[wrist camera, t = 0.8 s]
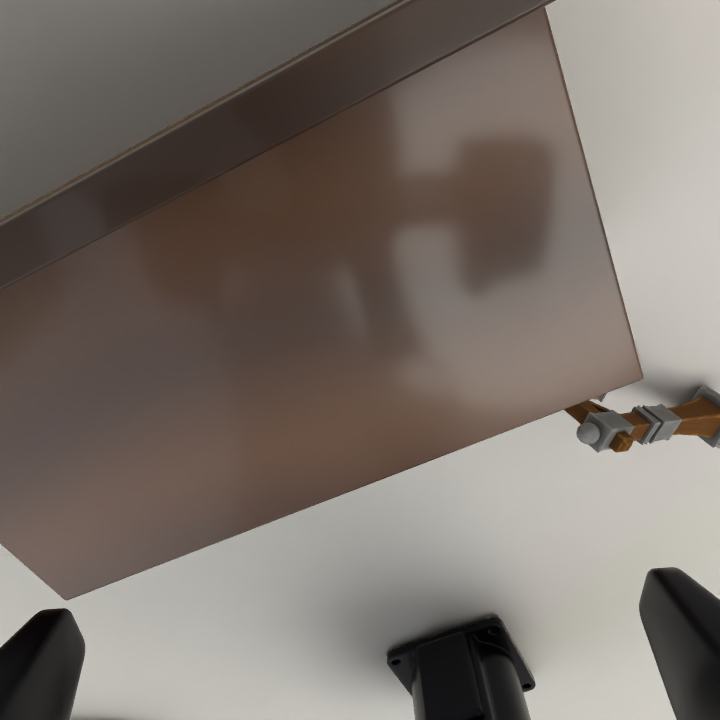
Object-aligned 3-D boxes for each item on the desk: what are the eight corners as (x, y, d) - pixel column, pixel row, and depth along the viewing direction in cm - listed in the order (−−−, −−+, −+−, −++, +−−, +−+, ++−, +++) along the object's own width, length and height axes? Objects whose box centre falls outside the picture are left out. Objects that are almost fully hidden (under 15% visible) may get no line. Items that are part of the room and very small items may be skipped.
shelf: (554, 275, 21) (675, 414, 13) (133, 456, 24) (43, 647, 17) (454, -31, 16) (555, -81, 9) (-50, 247, 19) (-288, 383, 12)
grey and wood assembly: (520, 350, 21) (613, 428, 18) (655, 351, 25) (751, 415, 22) (501, 391, 22) (586, 473, 18) (634, 385, 26) (723, 452, 23)
